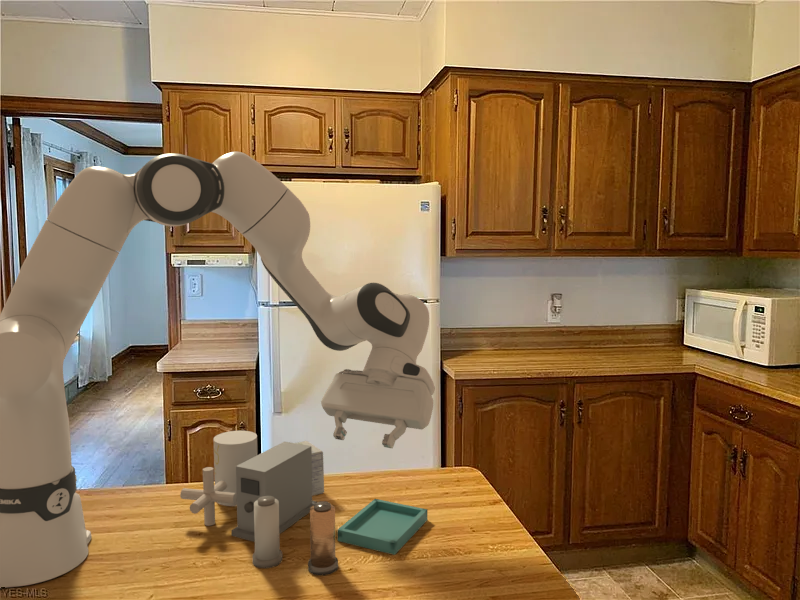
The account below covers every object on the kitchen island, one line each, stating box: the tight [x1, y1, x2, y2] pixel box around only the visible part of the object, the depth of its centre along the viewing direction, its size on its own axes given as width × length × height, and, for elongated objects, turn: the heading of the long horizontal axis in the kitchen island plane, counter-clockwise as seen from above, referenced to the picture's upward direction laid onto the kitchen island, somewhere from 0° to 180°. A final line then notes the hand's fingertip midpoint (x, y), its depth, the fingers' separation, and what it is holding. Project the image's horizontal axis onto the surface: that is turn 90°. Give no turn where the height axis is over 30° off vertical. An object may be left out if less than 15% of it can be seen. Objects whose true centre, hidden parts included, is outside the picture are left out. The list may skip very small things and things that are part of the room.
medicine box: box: [295, 440, 325, 497], centre depth 128 cm, size 8×4×9 cm, turn 32°
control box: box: [231, 441, 318, 543], centre depth 114 cm, size 7×16×12 cm, turn 155°
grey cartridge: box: [252, 496, 283, 569], centre depth 100 cm, size 5×5×10 cm
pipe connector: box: [179, 466, 237, 527], centre depth 113 cm, size 10×10×10 cm
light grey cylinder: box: [213, 430, 259, 507], centre depth 124 cm, size 8×8×12 cm
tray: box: [336, 498, 428, 556], centre depth 111 cm, size 11×14×2 cm
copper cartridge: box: [307, 500, 339, 577], centre depth 98 cm, size 5×5×10 cm
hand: (362, 442), depth 109 cm, fingers open, 8 cm apart
